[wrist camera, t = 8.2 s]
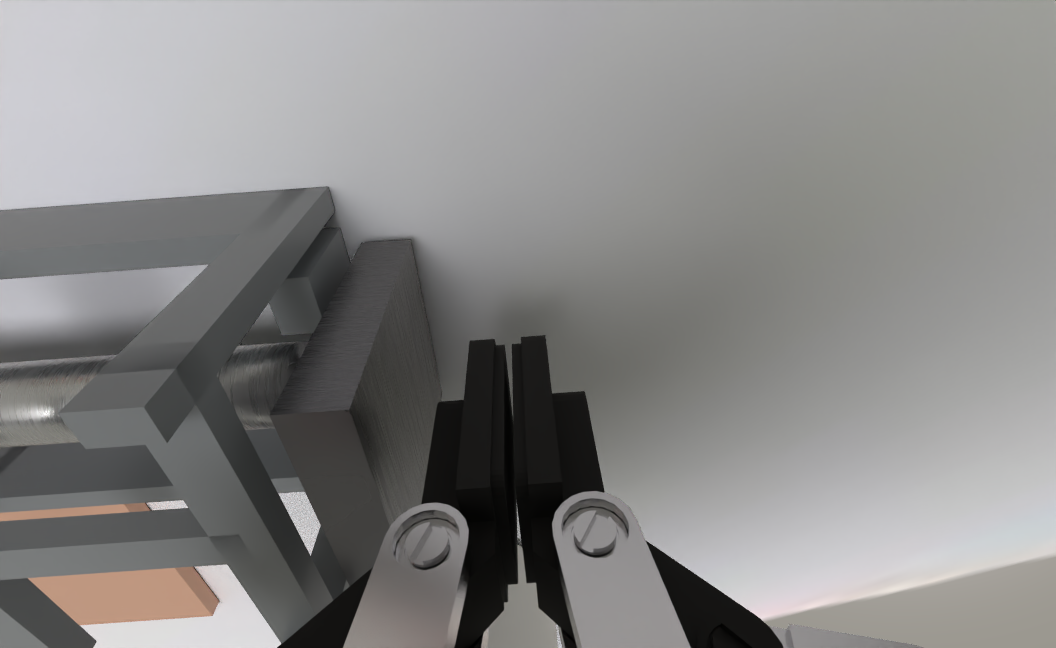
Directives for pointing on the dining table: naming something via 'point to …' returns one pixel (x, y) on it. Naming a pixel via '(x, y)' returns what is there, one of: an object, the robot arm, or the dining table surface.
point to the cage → (171, 409)
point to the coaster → (122, 584)
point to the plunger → (307, 401)
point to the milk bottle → (522, 618)
